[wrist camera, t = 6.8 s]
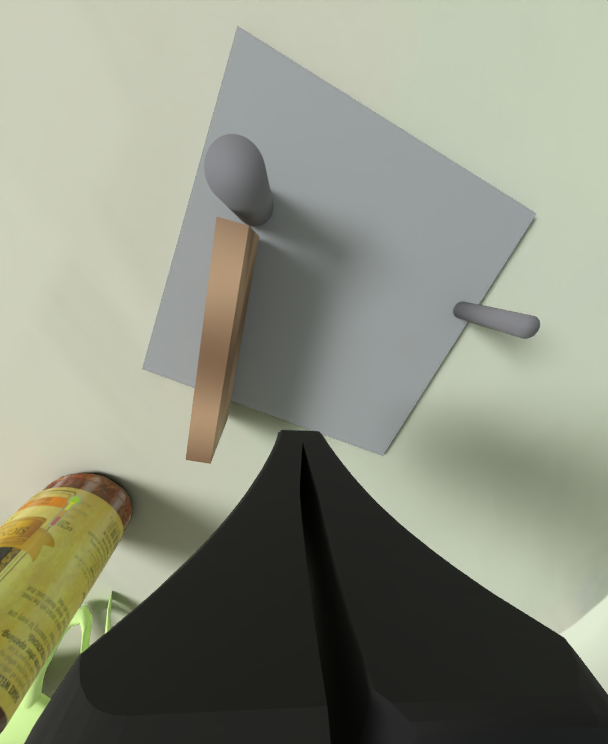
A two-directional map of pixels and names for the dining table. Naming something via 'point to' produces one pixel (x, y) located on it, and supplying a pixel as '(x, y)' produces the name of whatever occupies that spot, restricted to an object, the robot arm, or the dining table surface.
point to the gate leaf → (221, 334)
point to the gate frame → (334, 253)
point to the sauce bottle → (51, 571)
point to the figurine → (35, 700)
